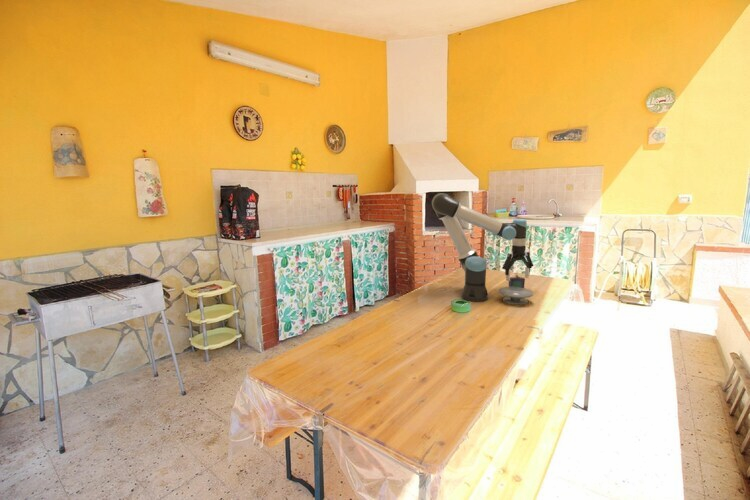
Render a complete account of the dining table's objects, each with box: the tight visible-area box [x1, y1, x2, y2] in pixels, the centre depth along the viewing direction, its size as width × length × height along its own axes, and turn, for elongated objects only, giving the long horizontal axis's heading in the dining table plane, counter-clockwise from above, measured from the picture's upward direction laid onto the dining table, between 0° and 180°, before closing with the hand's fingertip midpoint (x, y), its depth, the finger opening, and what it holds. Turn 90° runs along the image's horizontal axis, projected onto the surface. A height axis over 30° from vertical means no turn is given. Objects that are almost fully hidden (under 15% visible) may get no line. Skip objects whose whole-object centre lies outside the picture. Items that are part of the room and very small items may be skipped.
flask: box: [507, 274, 526, 288], centre depth 218 cm, size 9×3×11 cm, turn 79°
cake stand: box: [498, 286, 534, 306], centre depth 201 cm, size 18×18×6 cm
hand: (517, 279), depth 218 cm, fingers open, 13 cm apart
